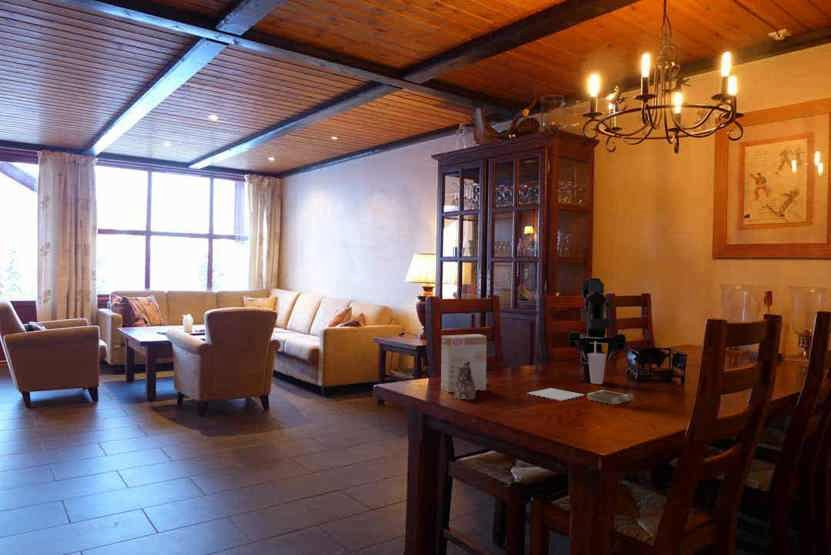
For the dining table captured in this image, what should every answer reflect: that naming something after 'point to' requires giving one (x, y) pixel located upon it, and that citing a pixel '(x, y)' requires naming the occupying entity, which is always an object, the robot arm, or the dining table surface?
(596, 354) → the smoothie
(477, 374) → the coffeecake box
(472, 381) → the figurine
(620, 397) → the holder
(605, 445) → the dining table surface
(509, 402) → the dining table surface
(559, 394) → the mat
